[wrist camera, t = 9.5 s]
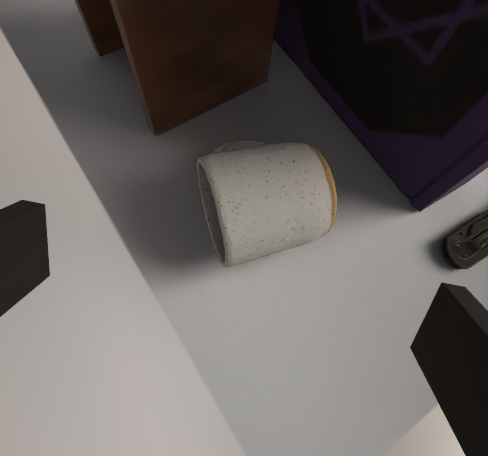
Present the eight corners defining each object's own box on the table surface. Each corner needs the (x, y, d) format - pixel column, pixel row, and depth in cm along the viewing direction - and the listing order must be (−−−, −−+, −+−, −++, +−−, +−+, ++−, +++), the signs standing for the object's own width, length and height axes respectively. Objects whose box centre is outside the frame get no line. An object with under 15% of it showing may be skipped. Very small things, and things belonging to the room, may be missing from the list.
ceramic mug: (323, 249, 26) (361, 205, 19) (223, 280, 25) (224, 246, 18) (276, 141, 30) (293, 71, 23) (186, 163, 29) (174, 96, 21)
